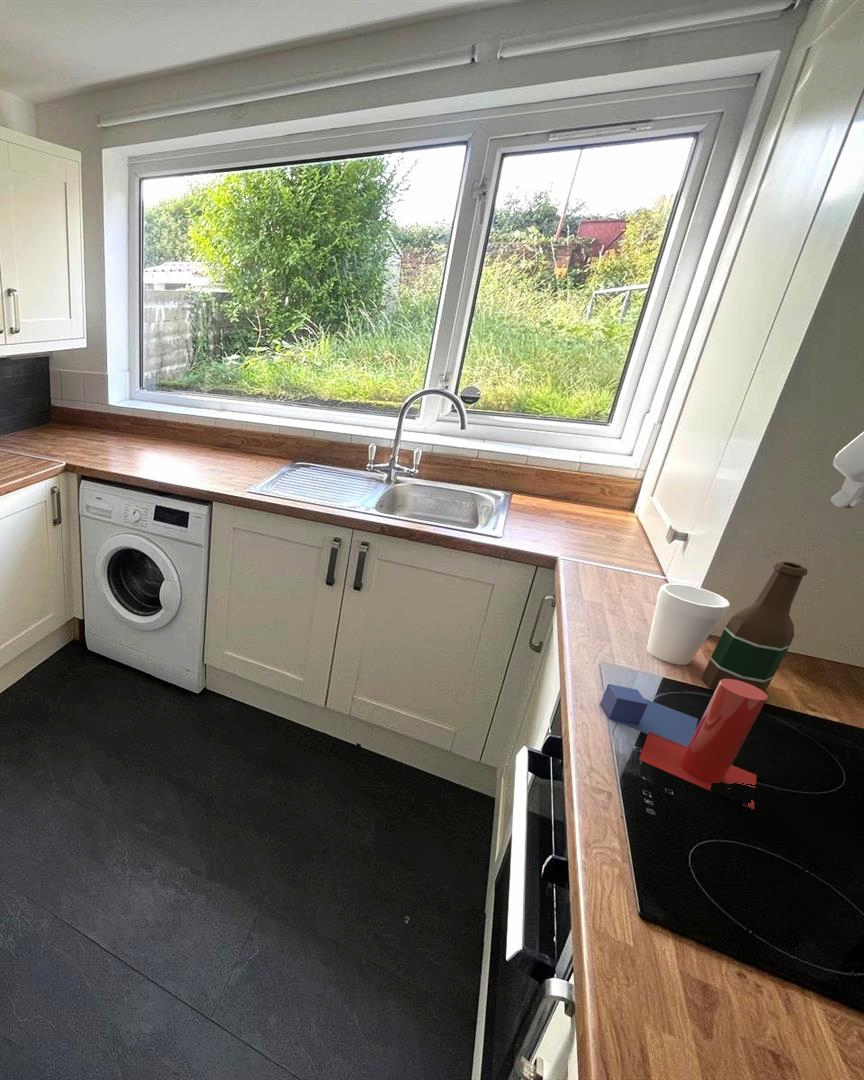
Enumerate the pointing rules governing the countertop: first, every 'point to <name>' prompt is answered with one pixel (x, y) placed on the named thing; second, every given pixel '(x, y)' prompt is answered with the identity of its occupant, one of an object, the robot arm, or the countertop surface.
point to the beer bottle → (758, 633)
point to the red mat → (669, 759)
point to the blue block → (623, 704)
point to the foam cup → (683, 621)
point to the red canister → (722, 730)
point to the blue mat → (666, 723)
